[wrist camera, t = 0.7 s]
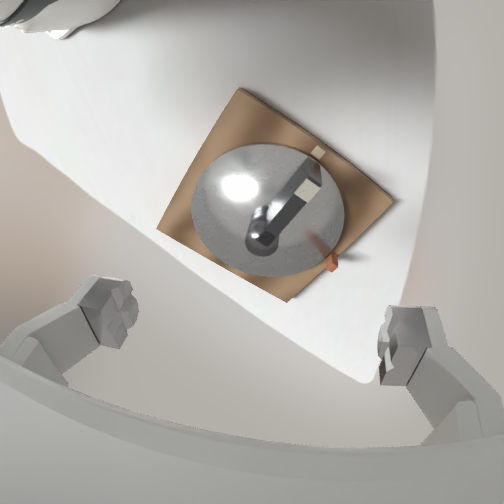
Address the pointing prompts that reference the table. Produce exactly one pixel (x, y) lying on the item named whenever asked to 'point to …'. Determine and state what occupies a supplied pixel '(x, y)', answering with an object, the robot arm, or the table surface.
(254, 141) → the dial plate
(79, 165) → the table surface
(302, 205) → the dial
